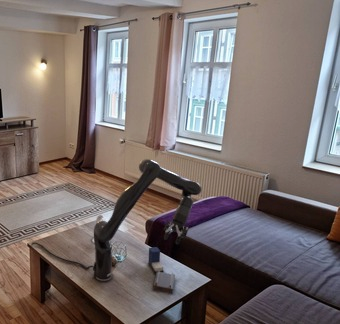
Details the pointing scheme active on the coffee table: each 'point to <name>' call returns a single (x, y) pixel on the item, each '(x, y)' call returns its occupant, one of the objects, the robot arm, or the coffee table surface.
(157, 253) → the blue rectangular block
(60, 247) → the coffee table surface
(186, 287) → the coffee table surface
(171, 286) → the wooden base with rails
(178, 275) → the coffee table surface
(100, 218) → the female figurine
